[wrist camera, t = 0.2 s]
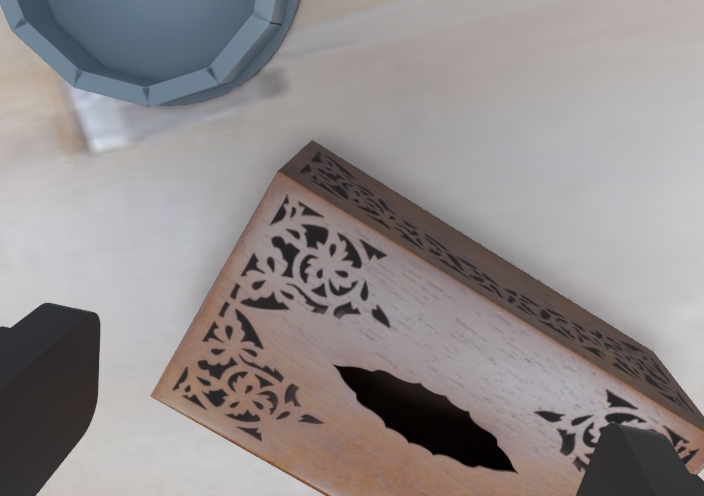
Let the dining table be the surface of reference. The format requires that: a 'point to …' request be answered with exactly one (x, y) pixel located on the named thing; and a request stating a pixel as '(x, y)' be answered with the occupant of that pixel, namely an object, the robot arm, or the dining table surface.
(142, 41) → the bowl
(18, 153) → the dining table surface
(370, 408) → the tissue box cover
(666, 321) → the dining table surface
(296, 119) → the dining table surface
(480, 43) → the dining table surface
